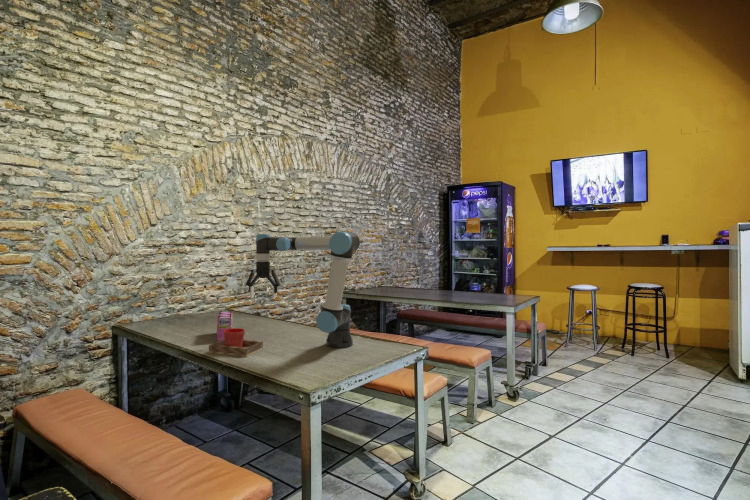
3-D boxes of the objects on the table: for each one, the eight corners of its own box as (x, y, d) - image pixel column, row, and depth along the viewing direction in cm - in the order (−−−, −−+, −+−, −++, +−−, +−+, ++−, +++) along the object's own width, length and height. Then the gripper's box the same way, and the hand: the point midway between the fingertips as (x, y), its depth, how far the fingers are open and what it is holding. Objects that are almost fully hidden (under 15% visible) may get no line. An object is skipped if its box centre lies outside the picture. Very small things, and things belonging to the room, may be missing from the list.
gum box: (219, 332, 261) (219, 310, 261) (232, 331, 264) (232, 310, 263) (216, 341, 238) (216, 318, 238) (231, 341, 241) (231, 317, 240)
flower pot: (238, 344, 229) (238, 327, 229) (248, 348, 222) (248, 330, 222) (219, 347, 222) (219, 329, 222) (229, 352, 214) (229, 333, 214)
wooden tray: (262, 348, 226) (263, 341, 226) (246, 356, 211) (246, 348, 210) (227, 345, 232) (227, 337, 231) (208, 352, 216) (208, 345, 216)
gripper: (286, 261, 238) (286, 298, 239) (246, 260, 243) (246, 296, 244) (280, 261, 231) (280, 300, 231) (239, 260, 236) (239, 298, 237)
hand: (263, 298), depth 238 cm, fingers open, 13 cm apart
